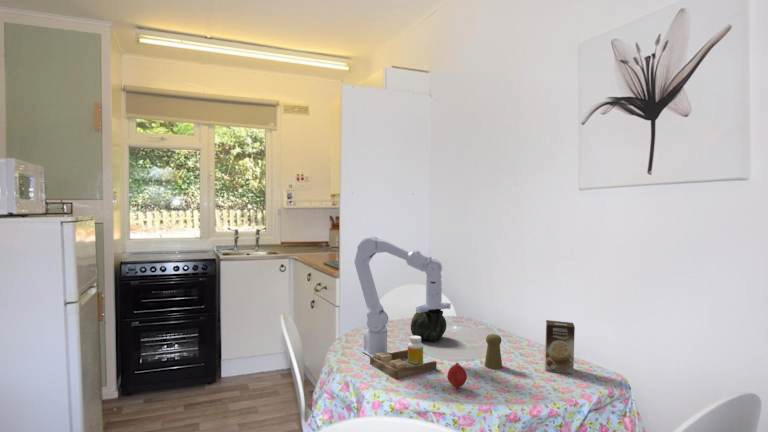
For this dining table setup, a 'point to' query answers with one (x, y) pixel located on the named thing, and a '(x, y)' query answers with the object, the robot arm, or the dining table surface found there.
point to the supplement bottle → (415, 351)
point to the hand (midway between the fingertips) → (433, 330)
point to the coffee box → (559, 346)
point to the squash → (427, 327)
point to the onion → (457, 376)
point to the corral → (402, 371)
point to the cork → (493, 352)
